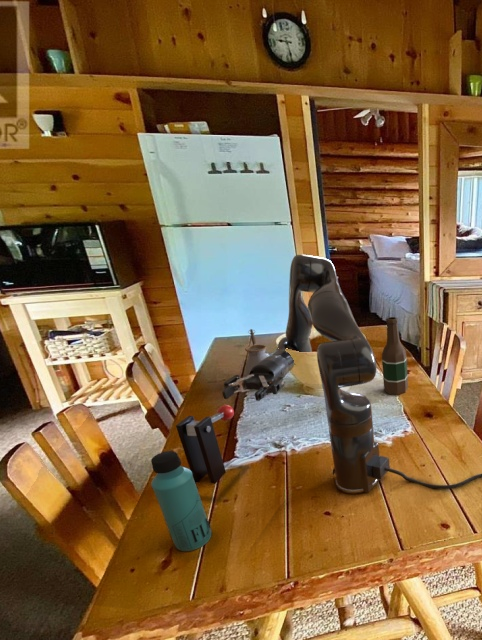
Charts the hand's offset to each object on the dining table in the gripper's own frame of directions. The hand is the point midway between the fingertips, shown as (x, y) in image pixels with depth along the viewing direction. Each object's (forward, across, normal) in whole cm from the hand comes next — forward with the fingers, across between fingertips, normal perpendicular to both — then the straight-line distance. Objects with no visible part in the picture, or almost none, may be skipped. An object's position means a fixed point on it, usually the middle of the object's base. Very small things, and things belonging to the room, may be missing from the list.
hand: (240, 396), depth 110 cm
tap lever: (+13, 0, +2) cm, 13 cm away
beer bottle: (-34, +32, +13) cm, 49 cm away
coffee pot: (-39, -17, +13) cm, 45 cm away
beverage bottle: (+37, +8, +13) cm, 40 cm away
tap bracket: (+18, 0, +13) cm, 22 cm away
